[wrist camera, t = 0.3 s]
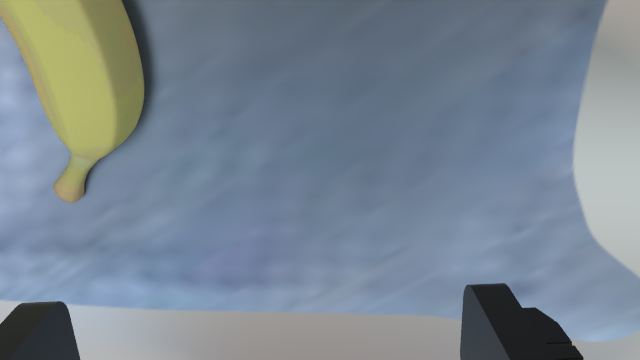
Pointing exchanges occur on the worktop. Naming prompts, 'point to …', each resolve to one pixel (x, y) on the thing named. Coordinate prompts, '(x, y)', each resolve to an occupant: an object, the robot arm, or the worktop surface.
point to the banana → (80, 76)
